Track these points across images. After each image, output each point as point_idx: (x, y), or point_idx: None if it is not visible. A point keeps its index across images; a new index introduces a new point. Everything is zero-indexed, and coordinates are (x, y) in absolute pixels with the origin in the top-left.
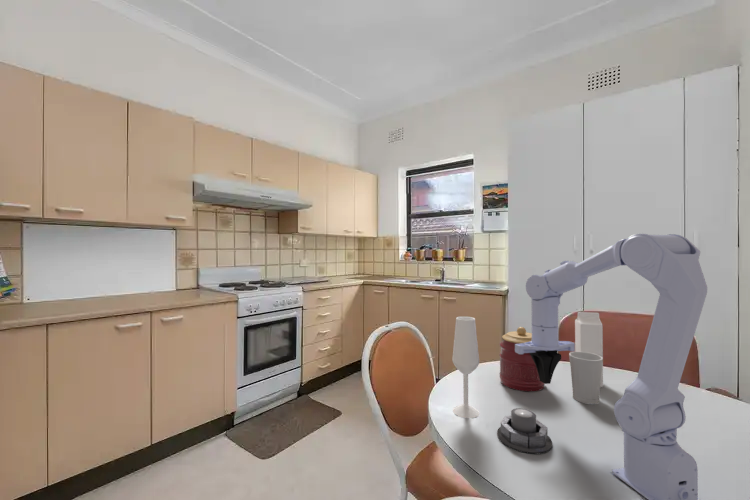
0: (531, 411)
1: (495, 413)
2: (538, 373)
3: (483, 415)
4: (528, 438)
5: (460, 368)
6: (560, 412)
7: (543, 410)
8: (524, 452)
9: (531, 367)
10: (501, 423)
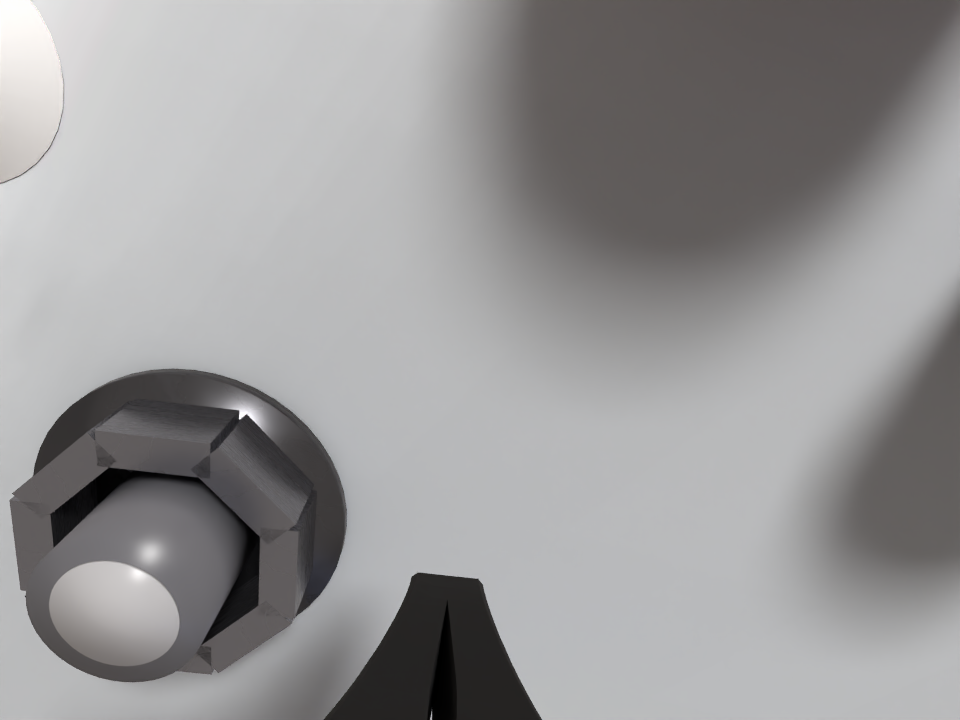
0: (200, 605)
1: (192, 175)
2: (391, 627)
3: (76, 174)
4: None
5: None
6: (699, 320)
7: (605, 254)
8: None
9: None
10: (12, 504)
